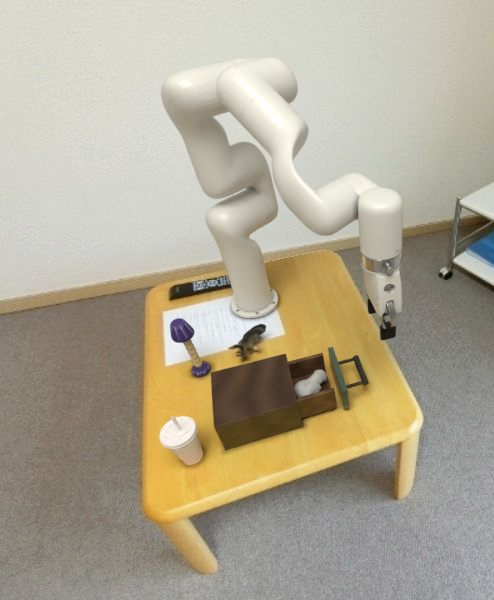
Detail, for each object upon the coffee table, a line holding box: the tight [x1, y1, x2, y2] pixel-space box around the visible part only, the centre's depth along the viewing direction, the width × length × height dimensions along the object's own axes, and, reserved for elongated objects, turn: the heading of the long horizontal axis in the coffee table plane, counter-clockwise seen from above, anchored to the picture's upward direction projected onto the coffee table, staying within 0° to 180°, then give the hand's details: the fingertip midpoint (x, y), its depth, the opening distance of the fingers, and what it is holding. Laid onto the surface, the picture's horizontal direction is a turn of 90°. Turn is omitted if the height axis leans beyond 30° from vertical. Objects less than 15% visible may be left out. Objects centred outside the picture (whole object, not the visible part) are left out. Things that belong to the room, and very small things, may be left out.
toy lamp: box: [169, 317, 212, 378], centre depth 95 cm, size 5×5×17 cm
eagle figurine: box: [227, 323, 267, 362], centre depth 105 cm, size 8×7×9 cm
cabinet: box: [210, 353, 304, 451], centre depth 90 cm, size 16×14×9 cm
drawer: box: [288, 346, 370, 419], centre depth 94 cm, size 20×13×7 cm, turn 111°
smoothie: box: [158, 415, 204, 466], centre depth 81 cm, size 6×6×14 cm
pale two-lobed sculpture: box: [294, 370, 329, 398], centre depth 94 cm, size 4×8×5 cm
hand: (381, 324), depth 89 cm, fingers open, 7 cm apart
